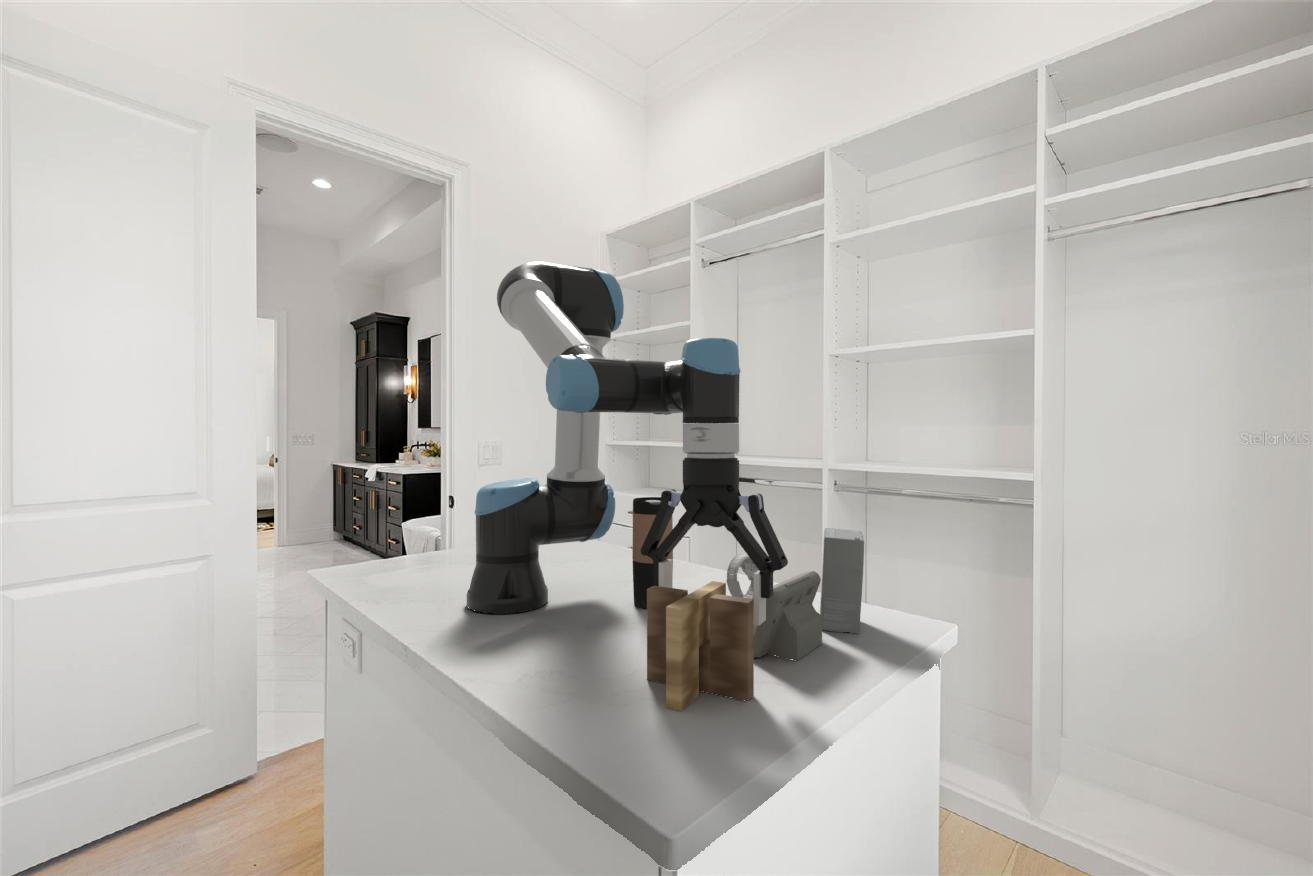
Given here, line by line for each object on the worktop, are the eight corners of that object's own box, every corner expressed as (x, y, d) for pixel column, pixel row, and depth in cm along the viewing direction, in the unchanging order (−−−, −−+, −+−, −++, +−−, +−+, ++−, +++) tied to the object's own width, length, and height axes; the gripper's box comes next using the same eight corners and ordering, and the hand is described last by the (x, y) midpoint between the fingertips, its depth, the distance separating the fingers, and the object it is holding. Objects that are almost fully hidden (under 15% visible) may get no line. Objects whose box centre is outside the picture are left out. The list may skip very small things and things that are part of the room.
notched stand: (647, 679, 81) (646, 589, 80) (654, 674, 82) (654, 585, 82) (748, 701, 74) (748, 603, 74) (753, 695, 76) (753, 599, 76)
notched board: (681, 711, 71) (681, 609, 71) (666, 707, 72) (666, 606, 72) (726, 670, 84) (725, 582, 84) (712, 667, 85) (712, 581, 85)
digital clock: (794, 629, 101) (795, 565, 101) (842, 643, 94) (843, 575, 94) (728, 652, 91) (728, 581, 91) (776, 670, 84) (776, 593, 84)
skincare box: (819, 616, 108) (819, 527, 108) (862, 620, 106) (862, 529, 106) (819, 631, 100) (819, 535, 100) (865, 635, 98) (865, 537, 98)
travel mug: (648, 597, 121) (648, 496, 121) (680, 603, 116) (680, 498, 116) (624, 606, 114) (624, 499, 114) (657, 613, 110) (657, 502, 110)
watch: (771, 615, 109) (771, 553, 108) (743, 625, 103) (743, 560, 103) (746, 609, 113) (746, 549, 112) (718, 618, 107) (718, 555, 107)
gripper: (616, 455, 84) (616, 609, 84) (795, 458, 72) (795, 638, 72) (643, 453, 90) (643, 596, 91) (811, 456, 79) (811, 620, 79)
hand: (710, 615), depth 82 cm, fingers open, 13 cm apart
